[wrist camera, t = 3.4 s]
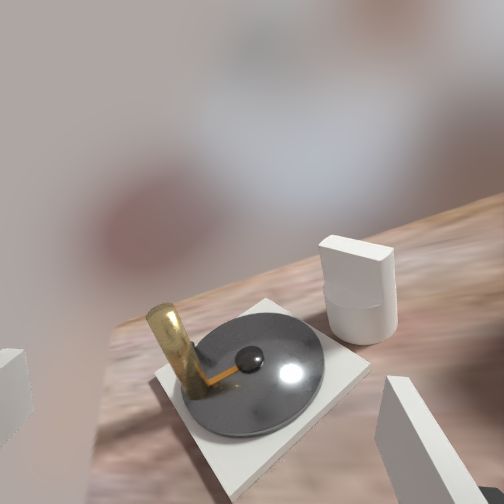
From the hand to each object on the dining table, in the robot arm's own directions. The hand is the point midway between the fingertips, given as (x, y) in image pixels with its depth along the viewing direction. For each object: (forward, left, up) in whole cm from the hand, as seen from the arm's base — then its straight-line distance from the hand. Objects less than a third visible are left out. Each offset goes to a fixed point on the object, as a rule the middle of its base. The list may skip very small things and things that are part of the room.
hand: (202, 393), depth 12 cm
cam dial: (-9, -19, -22) cm, 31 cm away
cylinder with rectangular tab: (-25, -15, -24) cm, 38 cm away
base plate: (-9, -19, -24) cm, 32 cm away
